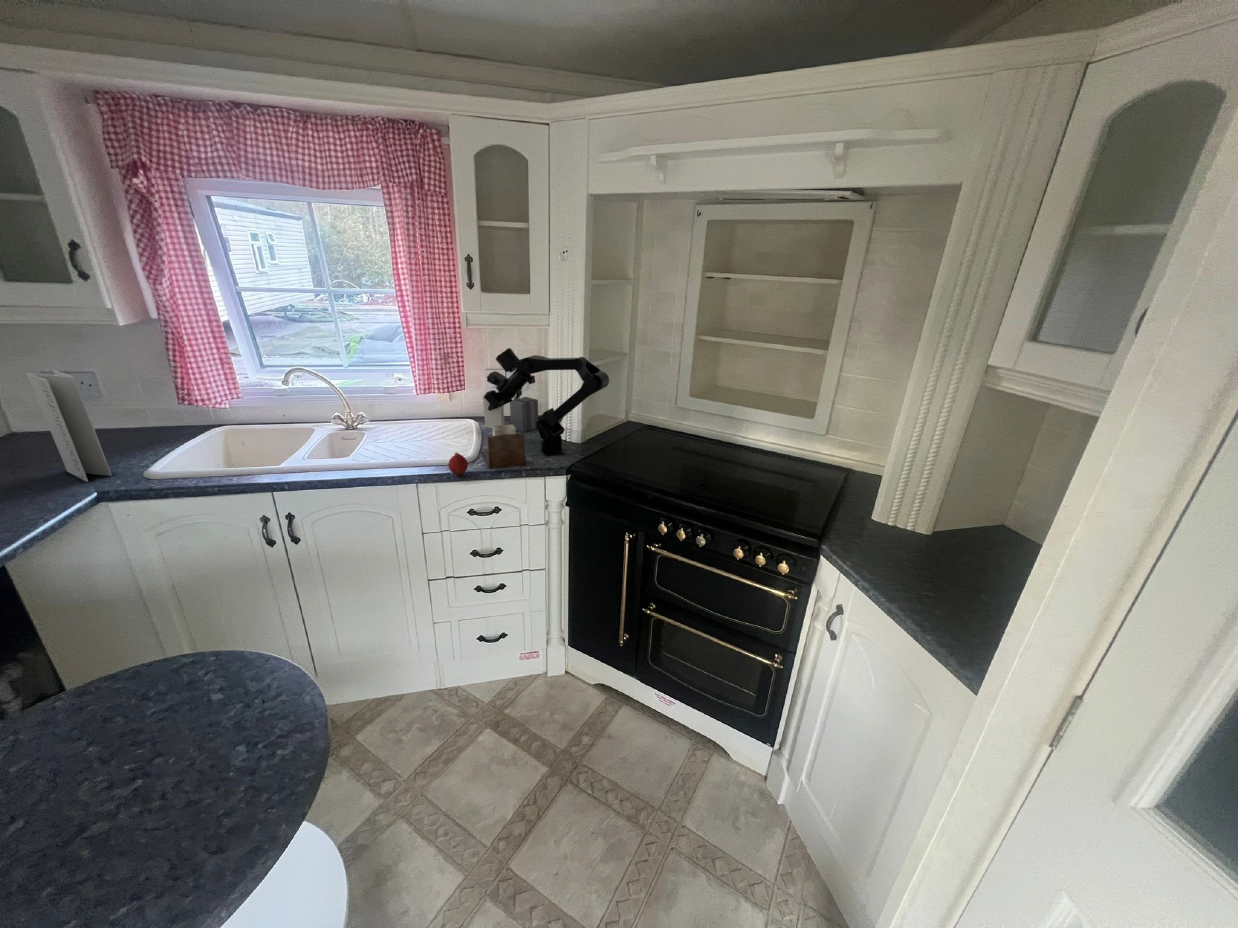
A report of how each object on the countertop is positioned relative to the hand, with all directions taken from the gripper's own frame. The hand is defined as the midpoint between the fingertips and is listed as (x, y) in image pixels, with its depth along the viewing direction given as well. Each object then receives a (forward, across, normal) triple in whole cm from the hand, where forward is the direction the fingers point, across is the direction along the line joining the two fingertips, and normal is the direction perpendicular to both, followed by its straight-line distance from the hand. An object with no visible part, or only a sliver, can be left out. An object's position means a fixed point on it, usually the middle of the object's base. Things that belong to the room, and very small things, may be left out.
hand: (490, 409), depth 183 cm
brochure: (+77, +70, -59) cm, 120 cm away
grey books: (+7, -21, +12) cm, 25 cm away
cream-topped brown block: (+1, +13, +18) cm, 22 cm away
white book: (+4, 0, +6) cm, 7 cm away
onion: (+5, +32, +14) cm, 35 cm away
